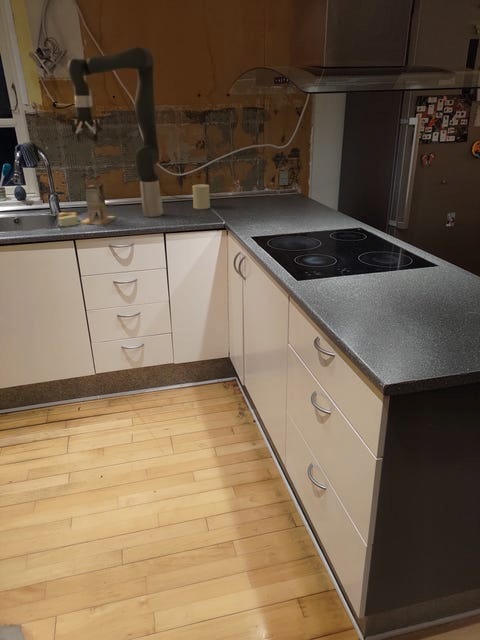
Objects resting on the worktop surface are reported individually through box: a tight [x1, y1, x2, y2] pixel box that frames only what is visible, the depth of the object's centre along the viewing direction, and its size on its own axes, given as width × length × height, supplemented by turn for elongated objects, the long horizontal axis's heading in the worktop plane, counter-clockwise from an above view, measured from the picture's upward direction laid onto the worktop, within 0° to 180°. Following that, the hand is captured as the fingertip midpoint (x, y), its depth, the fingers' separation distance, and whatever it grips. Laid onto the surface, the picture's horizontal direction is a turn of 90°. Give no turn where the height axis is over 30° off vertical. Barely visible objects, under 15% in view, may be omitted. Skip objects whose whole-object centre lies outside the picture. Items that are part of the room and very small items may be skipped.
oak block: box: [57, 211, 79, 220], centre depth 239 cm, size 8×4×4 cm, turn 86°
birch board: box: [79, 215, 117, 226], centre depth 239 cm, size 12×14×1 cm
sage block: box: [57, 215, 79, 227], centre depth 232 cm, size 8×4×4 cm, turn 131°
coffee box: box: [84, 183, 108, 221], centre depth 235 cm, size 9×6×16 cm
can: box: [191, 183, 211, 210], centre depth 262 cm, size 9×9×12 cm
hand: (88, 141), depth 240 cm, fingers open, 8 cm apart
